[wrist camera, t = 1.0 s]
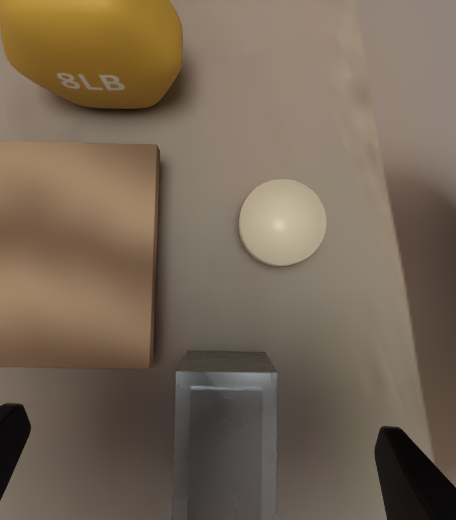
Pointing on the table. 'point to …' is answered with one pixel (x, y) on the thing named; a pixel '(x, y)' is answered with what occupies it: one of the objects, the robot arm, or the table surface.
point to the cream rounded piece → (281, 223)
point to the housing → (225, 437)
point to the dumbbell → (95, 48)
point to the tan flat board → (78, 254)
